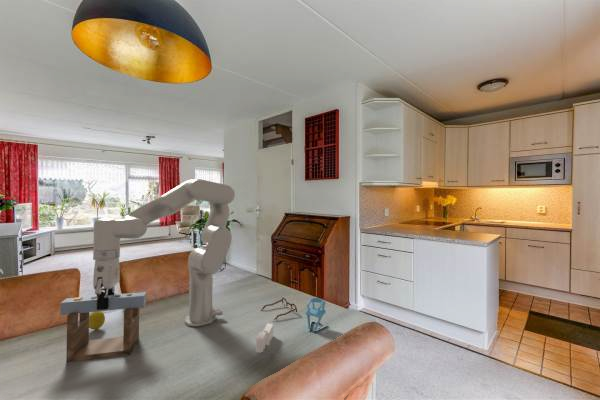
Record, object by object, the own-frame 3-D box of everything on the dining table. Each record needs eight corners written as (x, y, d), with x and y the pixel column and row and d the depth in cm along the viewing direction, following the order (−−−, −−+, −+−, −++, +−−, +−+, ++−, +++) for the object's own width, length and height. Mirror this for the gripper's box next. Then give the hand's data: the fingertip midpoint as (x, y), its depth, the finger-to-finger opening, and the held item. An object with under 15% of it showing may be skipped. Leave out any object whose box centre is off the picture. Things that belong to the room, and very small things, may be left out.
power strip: (146, 302, 99) (146, 290, 99) (143, 306, 95) (143, 294, 95) (66, 310, 91) (66, 297, 91) (60, 315, 87) (60, 301, 87)
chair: (302, 330, 111) (303, 301, 111) (311, 321, 118) (312, 294, 118) (320, 334, 107) (320, 305, 107) (327, 326, 115) (328, 298, 114)
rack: (138, 339, 101) (139, 299, 101) (129, 354, 91) (130, 310, 91) (82, 345, 96) (82, 303, 96) (66, 362, 86) (67, 315, 86)
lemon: (95, 334, 103) (95, 314, 103) (83, 332, 104) (83, 312, 104) (108, 327, 109) (108, 308, 108) (96, 326, 110) (97, 306, 110)
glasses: (297, 315, 125) (298, 305, 125) (273, 322, 117) (273, 311, 117) (283, 305, 136) (283, 296, 136) (259, 311, 128) (260, 301, 128)
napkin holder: (269, 332, 109) (270, 318, 109) (288, 344, 101) (288, 329, 101) (237, 346, 98) (237, 331, 98) (255, 360, 90) (256, 343, 90)
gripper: (109, 259, 86) (108, 315, 86) (127, 249, 102) (126, 296, 102) (81, 260, 84) (80, 318, 84) (104, 249, 100) (103, 298, 100)
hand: (105, 305), depth 93 cm, fingers closed on power strip, 4 cm apart
